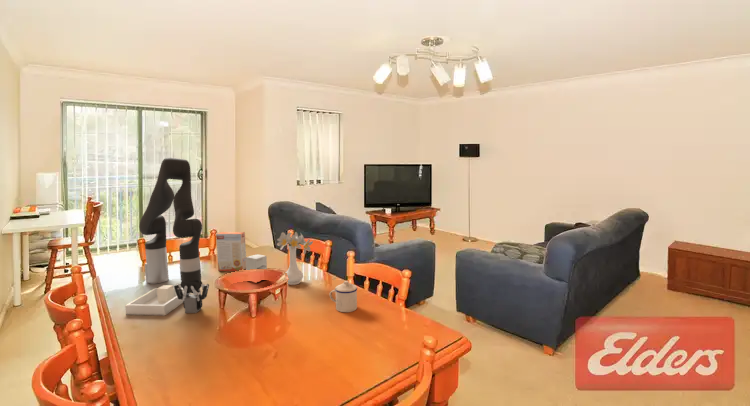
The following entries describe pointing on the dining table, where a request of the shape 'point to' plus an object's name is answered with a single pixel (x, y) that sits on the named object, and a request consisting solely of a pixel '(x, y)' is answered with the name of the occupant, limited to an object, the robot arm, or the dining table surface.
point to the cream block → (165, 293)
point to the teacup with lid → (345, 297)
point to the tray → (152, 304)
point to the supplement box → (256, 262)
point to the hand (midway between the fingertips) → (193, 308)
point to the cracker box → (231, 251)
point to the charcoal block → (190, 304)
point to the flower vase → (293, 254)
